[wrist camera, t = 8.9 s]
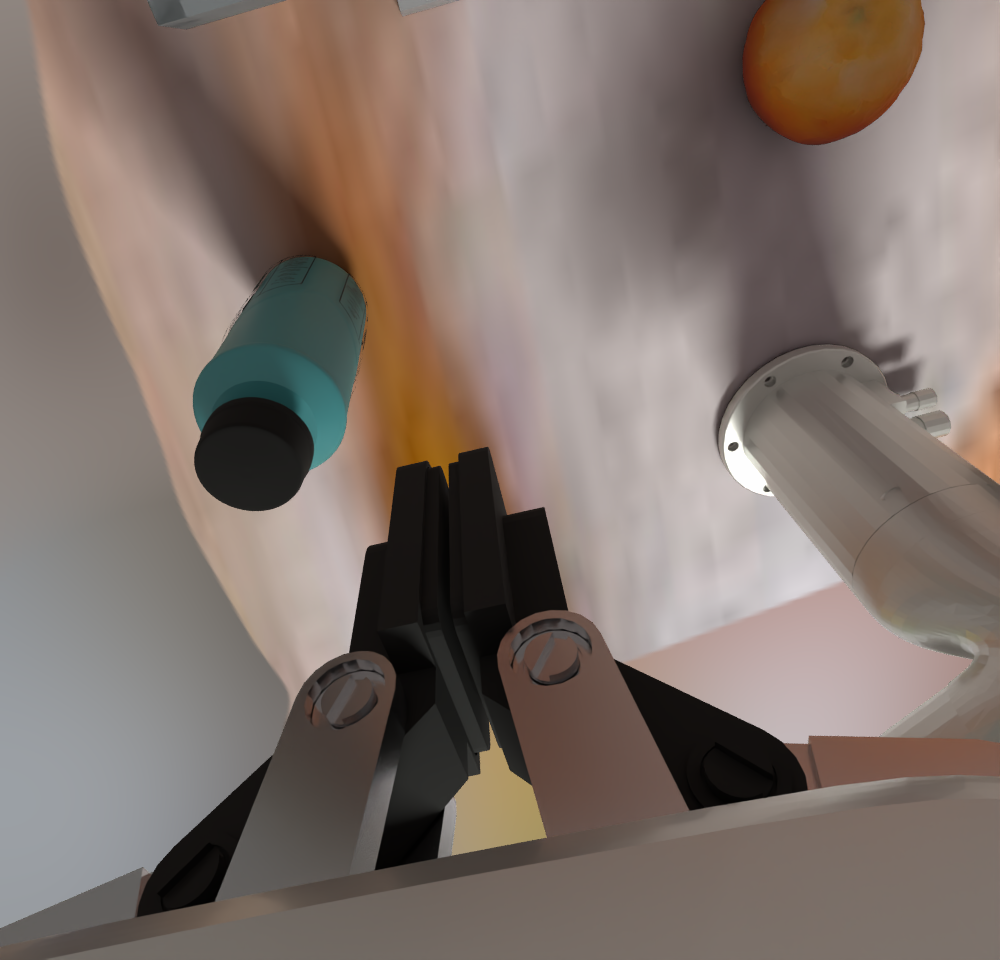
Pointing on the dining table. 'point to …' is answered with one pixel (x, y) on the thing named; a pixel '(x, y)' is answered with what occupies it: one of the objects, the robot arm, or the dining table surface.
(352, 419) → the dining table surface
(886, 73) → the fruit
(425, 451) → the dining table surface
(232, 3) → the beam
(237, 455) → the beverage bottle
